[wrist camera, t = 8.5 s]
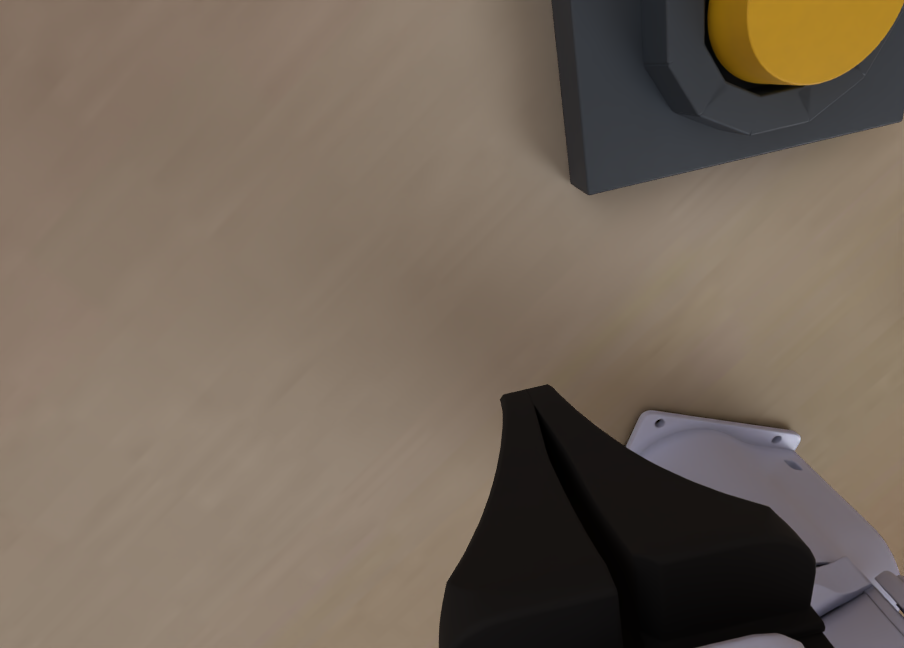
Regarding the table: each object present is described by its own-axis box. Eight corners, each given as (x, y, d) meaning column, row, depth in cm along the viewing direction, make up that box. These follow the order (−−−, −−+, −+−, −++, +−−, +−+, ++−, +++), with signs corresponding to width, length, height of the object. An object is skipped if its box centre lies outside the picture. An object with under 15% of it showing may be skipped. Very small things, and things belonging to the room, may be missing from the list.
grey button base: (900, -209, 17) (1037, -283, 13) (856, 116, 21) (949, 126, 18) (538, -122, 17) (576, -173, 13) (570, 184, 21) (605, 207, 18)
